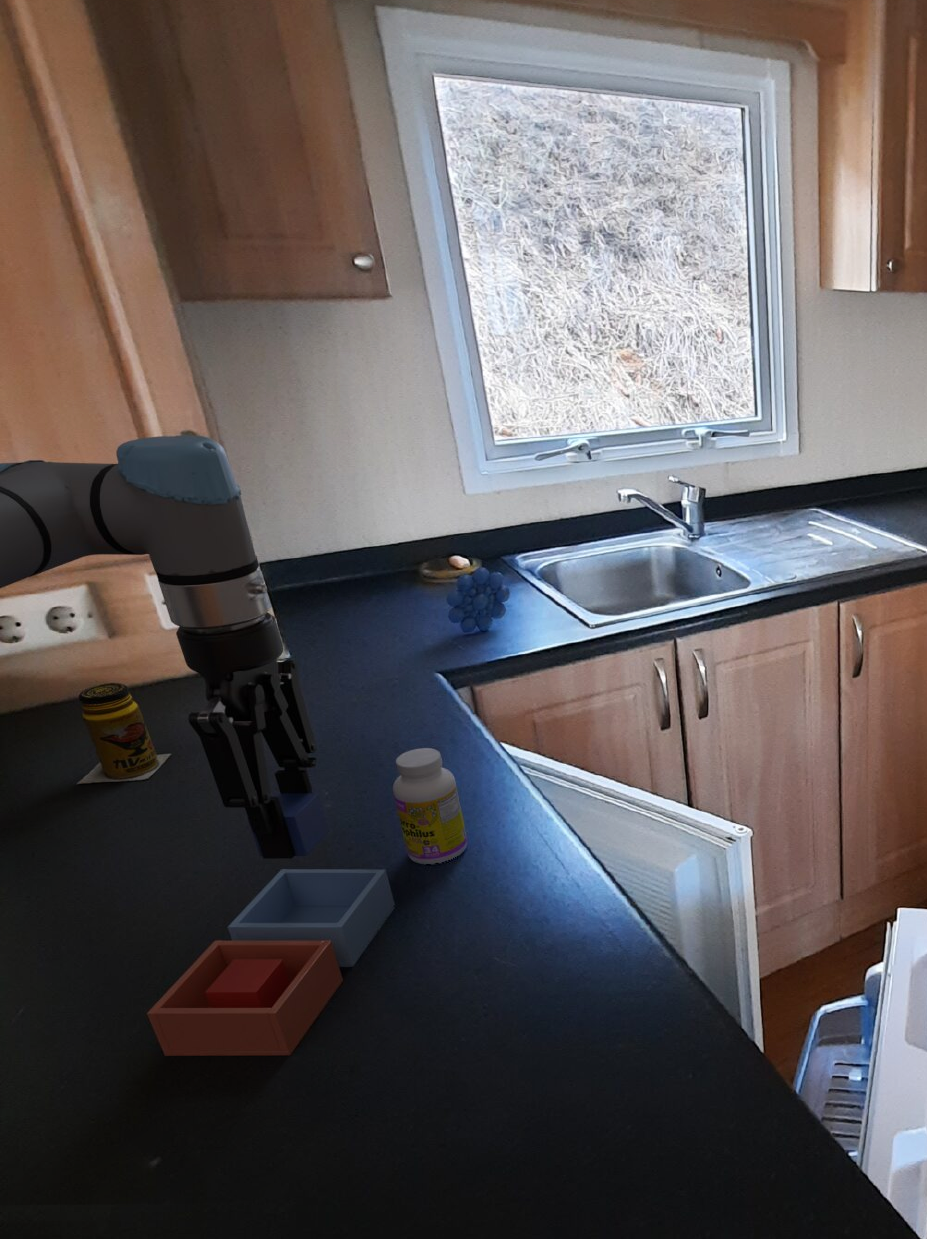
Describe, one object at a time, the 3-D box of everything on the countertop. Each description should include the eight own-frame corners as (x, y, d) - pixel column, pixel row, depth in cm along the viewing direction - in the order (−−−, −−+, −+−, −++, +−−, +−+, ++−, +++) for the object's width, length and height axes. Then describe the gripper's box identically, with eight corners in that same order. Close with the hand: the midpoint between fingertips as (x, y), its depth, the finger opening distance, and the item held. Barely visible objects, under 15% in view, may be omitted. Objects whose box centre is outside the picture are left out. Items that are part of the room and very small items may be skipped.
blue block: (260, 856, 94) (246, 817, 92) (284, 831, 98) (272, 793, 96) (307, 856, 94) (294, 816, 92) (329, 831, 98) (318, 793, 96)
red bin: (164, 1056, 86) (146, 1013, 84) (229, 980, 95) (214, 940, 93) (290, 1055, 87) (275, 1013, 84) (343, 980, 95) (331, 940, 93)
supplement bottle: (395, 859, 114) (371, 764, 108) (438, 832, 120) (417, 739, 114) (440, 872, 112) (417, 775, 106) (481, 843, 118) (462, 750, 112)
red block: (219, 1030, 88) (204, 992, 86) (247, 996, 92) (233, 959, 90) (269, 1029, 89) (256, 991, 87) (294, 996, 93) (282, 959, 91)
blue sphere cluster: (507, 618, 189) (497, 558, 183) (519, 628, 184) (509, 566, 179) (445, 630, 182) (433, 568, 177) (456, 640, 178) (444, 577, 172)
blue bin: (241, 967, 97) (227, 927, 95) (293, 906, 106) (281, 868, 104) (352, 967, 97) (341, 927, 95) (395, 907, 106) (385, 869, 104)
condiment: (148, 779, 130) (118, 698, 125) (76, 785, 128) (43, 702, 123) (172, 755, 136) (144, 676, 131) (104, 759, 135) (73, 680, 129)
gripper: (208, 656, 78) (285, 894, 88) (317, 588, 94) (371, 797, 104) (113, 656, 78) (201, 894, 88) (238, 588, 93) (301, 797, 104)
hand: (293, 841), depth 96 cm, fingers closed on blue block, 4 cm apart
